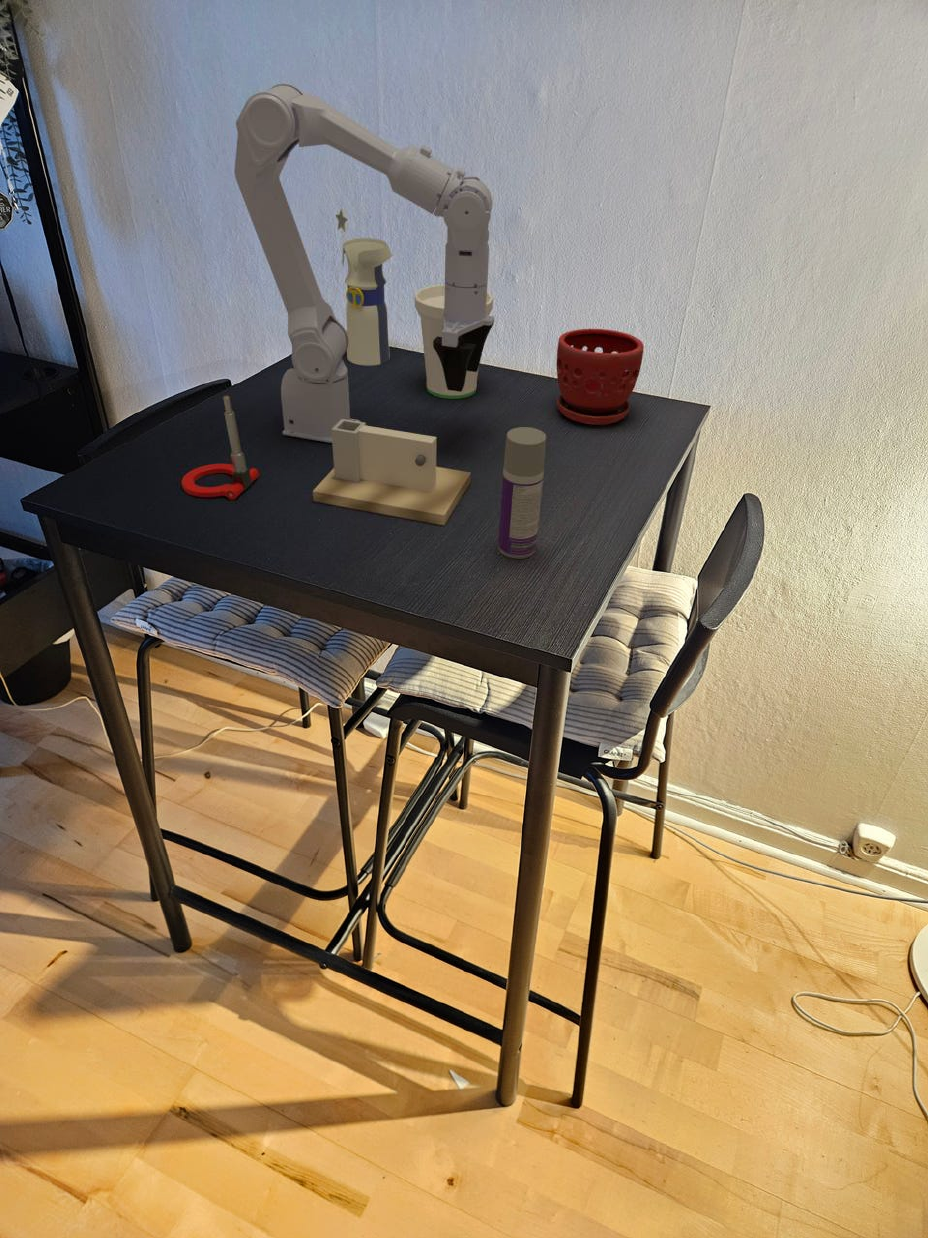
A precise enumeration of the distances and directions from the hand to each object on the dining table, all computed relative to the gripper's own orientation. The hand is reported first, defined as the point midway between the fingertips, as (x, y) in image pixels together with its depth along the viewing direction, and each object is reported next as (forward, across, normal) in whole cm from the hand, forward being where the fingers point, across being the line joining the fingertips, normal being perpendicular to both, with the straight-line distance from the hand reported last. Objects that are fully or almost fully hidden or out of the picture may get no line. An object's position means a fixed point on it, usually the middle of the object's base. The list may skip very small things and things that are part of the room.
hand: (462, 379), depth 120 cm
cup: (+10, +18, +7) cm, 22 cm away
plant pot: (+10, +17, -17) cm, 26 cm away
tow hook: (+10, -24, +27) cm, 37 cm away
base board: (+9, -18, +4) cm, 21 cm away
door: (+8, -18, +5) cm, 20 cm away
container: (+10, -26, -15) cm, 32 cm away
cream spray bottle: (+10, +26, +25) cm, 37 cm away
